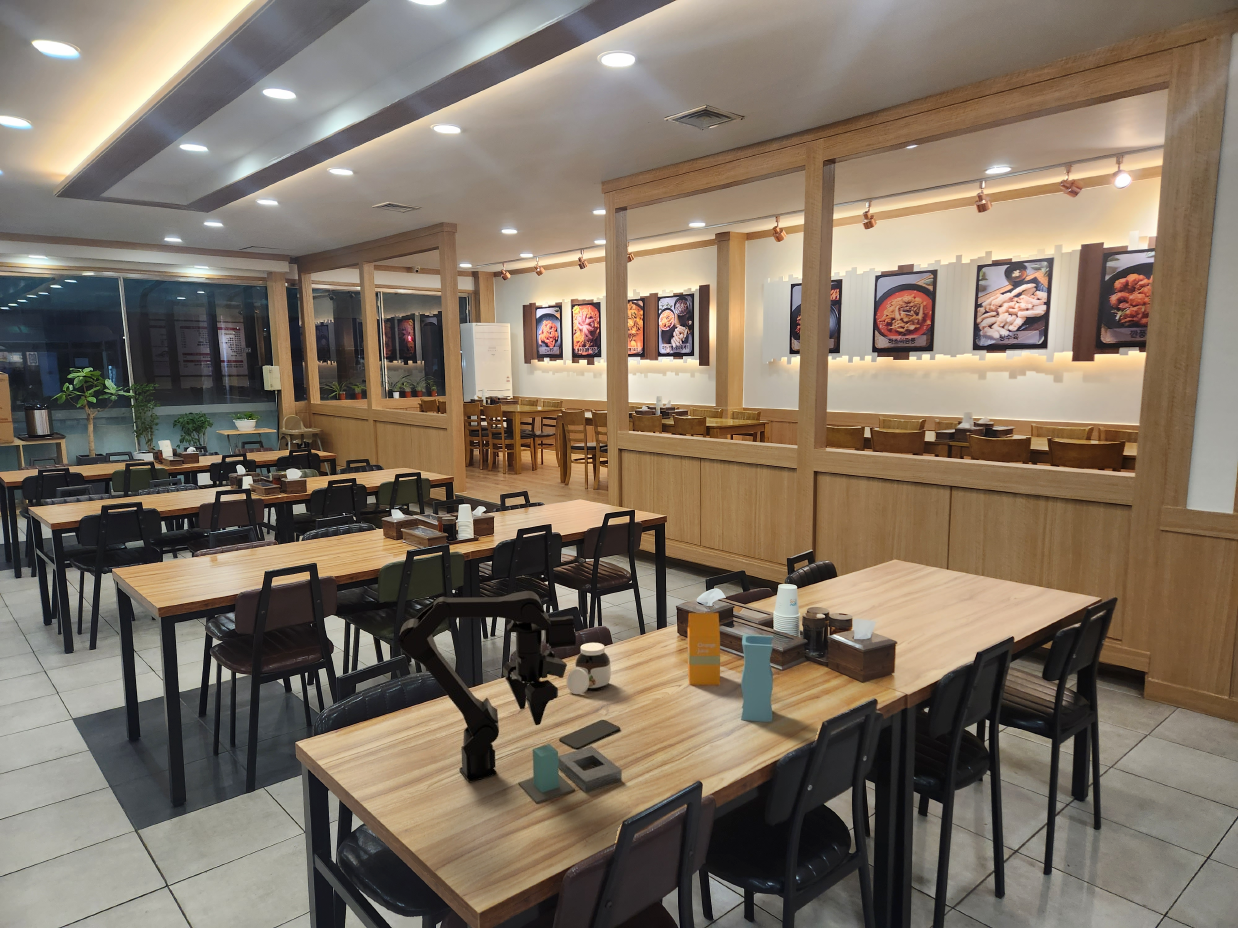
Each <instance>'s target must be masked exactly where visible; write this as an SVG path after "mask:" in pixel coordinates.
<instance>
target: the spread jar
mask: <svg viewBox="0 0 1238 928" xmlns="http://www.w3.org/2000/svg"><path fill="white" fill-rule="evenodd" d="M574 664H575V665H574V668H573V669H571V670H570V671H569V672H568V674H567V677H566V680H565V681H566V687H567V690H568V691H569V692H570V693H572V694H574V695H581V694H585V692H587V691H588V692H594V691H595V692H598V691H600V690H603V689H605V688H606V687H607V686H608V684H609V683H610V681H611V673H612V672H611V671H612V668H611V667H612V666H611V660H610V657H609V655H608V654H607V652H605V645H604V644H602V643H599V642H588V643H584V644H582V645H581V646H580V653H579V654H578V655H577V657H576V659H575V663H574Z"/></svg>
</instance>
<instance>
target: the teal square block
mask: <svg viewBox="0 0 1238 928" xmlns="http://www.w3.org/2000/svg"><path fill="white" fill-rule="evenodd" d="M558 756H559V751H558V749H556V748H555V747H554V746H553V745H552V744H550V743H548V744H544V745H541V746H538V747H534V748H532V770H533V771H532V772H533V773H532V774H533V776H532V778H534V785H535V786H536V787H537V788H538V789H539V790H540V791H541V792H545V791H548V790H552V789H555V788H558V787H559V775H560V773H559V768H558Z"/></svg>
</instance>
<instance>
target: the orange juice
mask: <svg viewBox="0 0 1238 928" xmlns="http://www.w3.org/2000/svg"><path fill="white" fill-rule="evenodd" d="M719 615H720V613H719V612H688V618H687V619H688V620H687V621H688V622H687V678H688V683H689V686H702V685H703V686H713V685H714V686H715V685H716V686H721V634H720V633H721V630H720V629H721V628H720V617H719Z"/></svg>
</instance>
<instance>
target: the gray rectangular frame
mask: <svg viewBox="0 0 1238 928" xmlns="http://www.w3.org/2000/svg"><path fill="white" fill-rule="evenodd" d="M590 767H594V768H590ZM587 768H590V769H587ZM583 769H587V770H583ZM558 770H559V771H561V772H562V773H563V774H565V775H566V776H567V777H568V779H570V780H571V781H572V782H573V783H574V784H576V785H577V787H579V789H581V790H582V791H583V792H584V793H585V794H586V793H590V792H593V791H595V790H598V789H601V788H604V787H607V786H610V785H613V784H617V783H618V782H622V780H623V778H622V777H623V775H622V774H623V773H622V772H623V771H622V769H621V768H620V767H618V765H616V764H615V763H614V762H612V761H611V760H610V759H609V758H608V757H606V756H605V755H604V754H602V753H601V752H600V751H599V750H598V749H596V748H595V747H594V746H593V745H591V746H590V745H589V746H585V747H583V748H581V749H577V750H576V749H575V750H574V751H570V752H568V753H564V754H560V755H558Z"/></svg>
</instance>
